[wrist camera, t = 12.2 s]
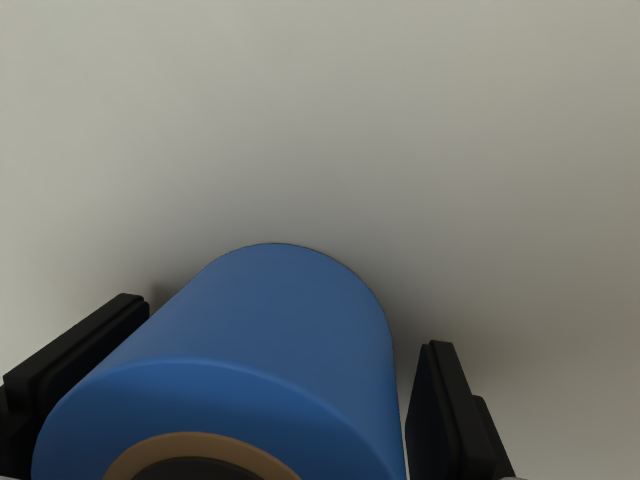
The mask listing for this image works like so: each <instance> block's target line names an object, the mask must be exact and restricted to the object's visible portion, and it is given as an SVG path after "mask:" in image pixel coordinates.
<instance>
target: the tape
mask: <svg viewBox="0 0 640 480" xmlns="http://www.w3.org/2000/svg"><path fill="white" fill-rule="evenodd" d="M31 480H407V477H406V467H405V458H404V449H403V440H402V431H401V422H400V413H399V404H398V395H397V385H396V376H395V367H394V358H393V349H392V340H391V335H390V330H389V326H388V323H387V320H386V317H385V314H384V312H383V310H382V308H381V306H380V304H379V302H378V301H377V299H376V298H375V296H374V295H373V294H372V292H371V291H370V289H369V288H368V287H367V286H366V285H365V284H364V283H363V282H362V281H361V280H360V278H359V277H357V276H356V275H355V274H354V273H353V272H351V271H350V270H349V269H348V268H346V267H345V266H343V265H342V264H340V263H339V262H337V261H335V260H334V259H332V258H330V257H328V256H325V255H323V254H321V253H319V252H316V251H313V250H310V249H307V248H303V247H298V246H293V245H286V244H259V245H254V246H248V247H244V248H241V249H238V250H235V251H232V252H229V253H227V254H225V255H223V256H221V257H219V258H217V259H216V260H215V261H213V262H212V263H210V264H209V265H207V266H206V267H205V268H204V269H203V270H202V271H201V272H200V273H198V274H197V275H196V276H195V277H194V278H193V279H192V280H191V281H190V282H189V283H187V284H186V285H185V286H184V287H183V288H182V289H181V290H180V291H179V292H178V293H176V294H175V295H174V296H173V297H172V298H171V299H170V300H169V301H168V302H167V303H165V304H164V305H163V306H162V307H161V308H160V309H159V310H158V311H157V312H156V313H154V314H153V315H152V316H151V317H150V318H149V319H148V320H147V321H146V322H145V323H143V324H142V325H141V326H140V327H139V328H138V329H137V330H136V331H135V332H134V333H132V334H131V335H130V336H129V337H128V338H127V339H126V340H125V341H124V342H123V343H121V344H120V345H119V346H118V347H117V348H116V349H115V350H114V351H113V352H112V353H110V354H109V355H108V356H107V357H106V358H105V359H104V360H103V361H102V362H101V363H99V364H98V365H97V366H96V367H95V368H94V369H93V370H92V371H91V372H90V373H88V374H87V375H86V376H85V377H84V378H83V379H82V380H81V381H80V382H79V383H77V384H76V385H75V386H74V387H73V388H72V389H71V390H70V391H69V392H68V393H67V394H66V395H65V396H64V397H62V398H61V399H60V400H59V401H58V403H57V404H56V406H55V407H54V408H53V410H52V411H51V412H50V414H49V415H48V416H47V418H46V420H45V422H44V425H43V427H42V429H41V431H40V433H39V435H38V437H37V441H36V444H35V448H34V452H33V456H32V467H31Z"/></svg>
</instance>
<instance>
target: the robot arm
mask: <svg viewBox="0 0 640 480" xmlns="http://www.w3.org/2000/svg"><path fill="white" fill-rule="evenodd" d="M149 318H150V315H149V304H148V302H146V301H144V298H143V297H142V296H139V295H132V294H126V293H121V294H119V295H117V296H116V297H115V298H113V299H112V300H110V301H109V302H107V303H106V304H105V305H103V306H102V307H100V308H99V309H97V310H96V311H95V312H93V313H92V314H90V315H89V316H87V317H86V318H85V319H83V320H82V321H80V322H79V323H77V324H76V325H75V326H73V327H72V328H70V329H69V330H68V331H66V332H65V333H63V334H62V335H60V336H59V337H58V338H56V339H55V340H53V341H52V342H50V343H49V344H48V345H46V346H45V347H43V348H42V349H40V350H39V351H38V352H36V353H35V354H33V355H32V356H31V357H29V358H28V359H26V360H25V361H23V362H22V363H21V364H19V365H18V366H16V367H15V368H13V369H12V370H11V371H9V372H8V373H6V374H5V375H3V381H4V384H3V385H2V386H1V387H0V480H31V467H32V456H33V452H34V448H35V444H36V441H37V437H38V435H39V433H40V431H41V429H42V427H43V425H44V422H45V420H46V418H47V416H48V415H49V414H50V412H51V411H52V410H53V408H54V407H55V406H56V404H57V403H58V401H59V400H60V399H61V398H62V397H64V396H65V395H66V394H67V393H68V392H69V391H70V390H71V389H72V388H73V387H74V386H75V385H76V384H77V383H79V382H80V381H81V380H82V379H83V378H84V377H85V376H86V375H87V374H88V373H90V372H91V371H92V370H93V369H94V368H95V367H96V366H97V365H98V364H99V363H101V362H102V361H103V360H104V359H105V358H106V357H107V356H108V355H109V354H110V353H112V352H113V351H114V350H115V349H116V348H117V347H118V346H119V345H120V344H121V343H123V342H124V341H125V340H126V339H127V338H128V337H129V336H130V335H131V334H132V333H134V332H135V331H136V330H137V329H138V328H139V327H140V326H141V325H142V324H143V323H145V322H146V321H147V320H148V319H149ZM405 441H406V449H407V457H408V466H409V474H410V480H526V479H522V478H518V477H516V475H515V473H514V470H513V468H512V466H511V463H510V461H509V458H508V456H507V454H506V451H505V449H504V446H503V444H502V442H501V439H500V437H499V434H498V432H497V430H496V427H495V425H494V422H493V420H492V418H491V415H490V413H489V410H488V408H487V406H486V403H485V401H484V399H483V398H482V397H480V396H476V395H472V393H471V391H470V388H469V386H468V383H467V380H466V378H465V375H464V372H463V370H462V367H461V365H460V362H459V359H458V357H457V354H456V351H455V349H454V346H453V344H452V343H450V342H444V341H437V340H430V342H429V345H428V344H422V347H421V351H420V356H419V360H418V365H417V370H416V375H415V380H414V384H413V389H412V394H411V399H410V404H409V408H408V413H407V418H406V423H405Z"/></svg>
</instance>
